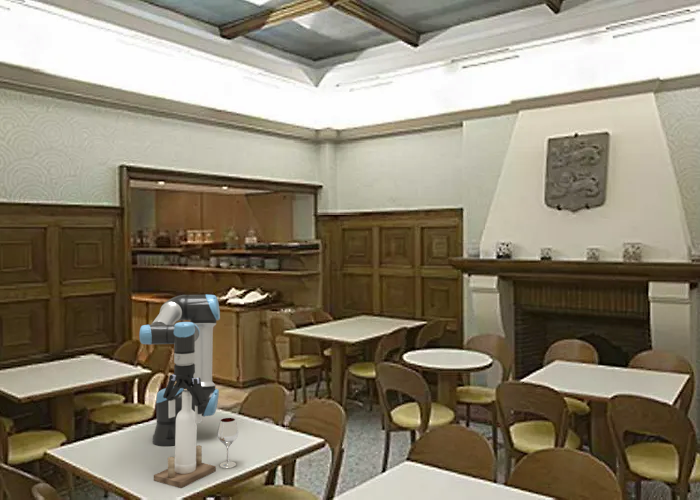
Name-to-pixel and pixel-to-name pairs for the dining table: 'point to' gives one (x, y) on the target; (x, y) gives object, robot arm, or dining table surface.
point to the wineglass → (227, 437)
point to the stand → (184, 479)
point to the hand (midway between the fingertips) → (184, 419)
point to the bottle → (185, 437)
